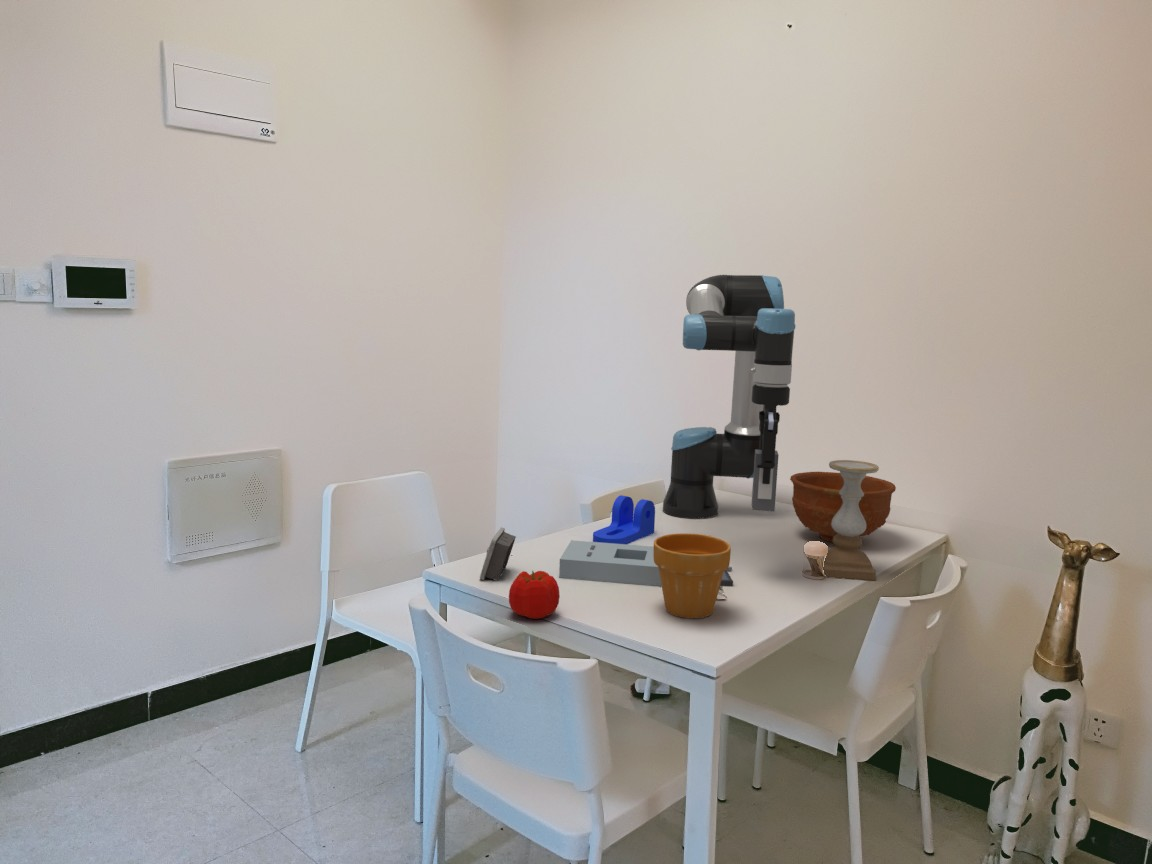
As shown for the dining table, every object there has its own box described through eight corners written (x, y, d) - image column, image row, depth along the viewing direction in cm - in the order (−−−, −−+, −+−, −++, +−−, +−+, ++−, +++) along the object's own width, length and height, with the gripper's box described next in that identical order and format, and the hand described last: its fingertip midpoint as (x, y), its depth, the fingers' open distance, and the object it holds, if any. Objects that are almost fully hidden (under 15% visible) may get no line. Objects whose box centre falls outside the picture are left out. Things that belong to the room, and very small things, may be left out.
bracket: (625, 527, 212) (627, 493, 211) (654, 533, 208) (655, 498, 206) (586, 542, 198) (587, 506, 196) (615, 549, 193) (616, 512, 192)
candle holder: (822, 577, 177) (831, 467, 173) (815, 561, 188) (823, 458, 184) (876, 581, 176) (886, 470, 172) (865, 565, 186) (874, 460, 183)
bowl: (782, 546, 199) (786, 485, 197) (790, 521, 222) (794, 466, 220) (892, 559, 191) (897, 496, 189) (888, 532, 215) (893, 475, 212)
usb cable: (663, 562, 184) (663, 558, 184) (664, 561, 185) (664, 557, 185) (731, 571, 179) (731, 567, 179) (731, 570, 180) (732, 566, 180)
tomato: (544, 602, 157) (545, 564, 156) (566, 619, 150) (567, 579, 149) (499, 610, 153) (500, 571, 152) (519, 627, 145) (520, 586, 144)
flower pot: (635, 608, 156) (638, 541, 154) (682, 591, 166) (685, 528, 164) (695, 631, 146) (699, 560, 144) (741, 611, 156) (746, 545, 154)
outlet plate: (570, 557, 185) (571, 539, 185) (669, 565, 182) (670, 546, 181) (559, 577, 172) (559, 558, 171) (665, 586, 168) (666, 566, 168)
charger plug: (751, 504, 177) (755, 448, 174) (773, 506, 176) (777, 449, 174) (752, 510, 172) (756, 452, 170) (774, 511, 171) (778, 453, 169)
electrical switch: (488, 566, 178) (493, 525, 176) (512, 570, 177) (517, 529, 175) (478, 581, 168) (483, 537, 167) (503, 585, 168) (508, 541, 166)
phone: (660, 573, 176) (661, 568, 176) (726, 574, 177) (726, 569, 177) (664, 584, 170) (664, 579, 169) (732, 586, 170) (733, 580, 170)
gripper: (750, 379, 179) (744, 484, 183) (754, 388, 162) (746, 504, 166) (786, 381, 177) (779, 487, 181) (794, 390, 160) (785, 507, 164)
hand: (763, 495), depth 174 cm, fingers closed on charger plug, 4 cm apart
